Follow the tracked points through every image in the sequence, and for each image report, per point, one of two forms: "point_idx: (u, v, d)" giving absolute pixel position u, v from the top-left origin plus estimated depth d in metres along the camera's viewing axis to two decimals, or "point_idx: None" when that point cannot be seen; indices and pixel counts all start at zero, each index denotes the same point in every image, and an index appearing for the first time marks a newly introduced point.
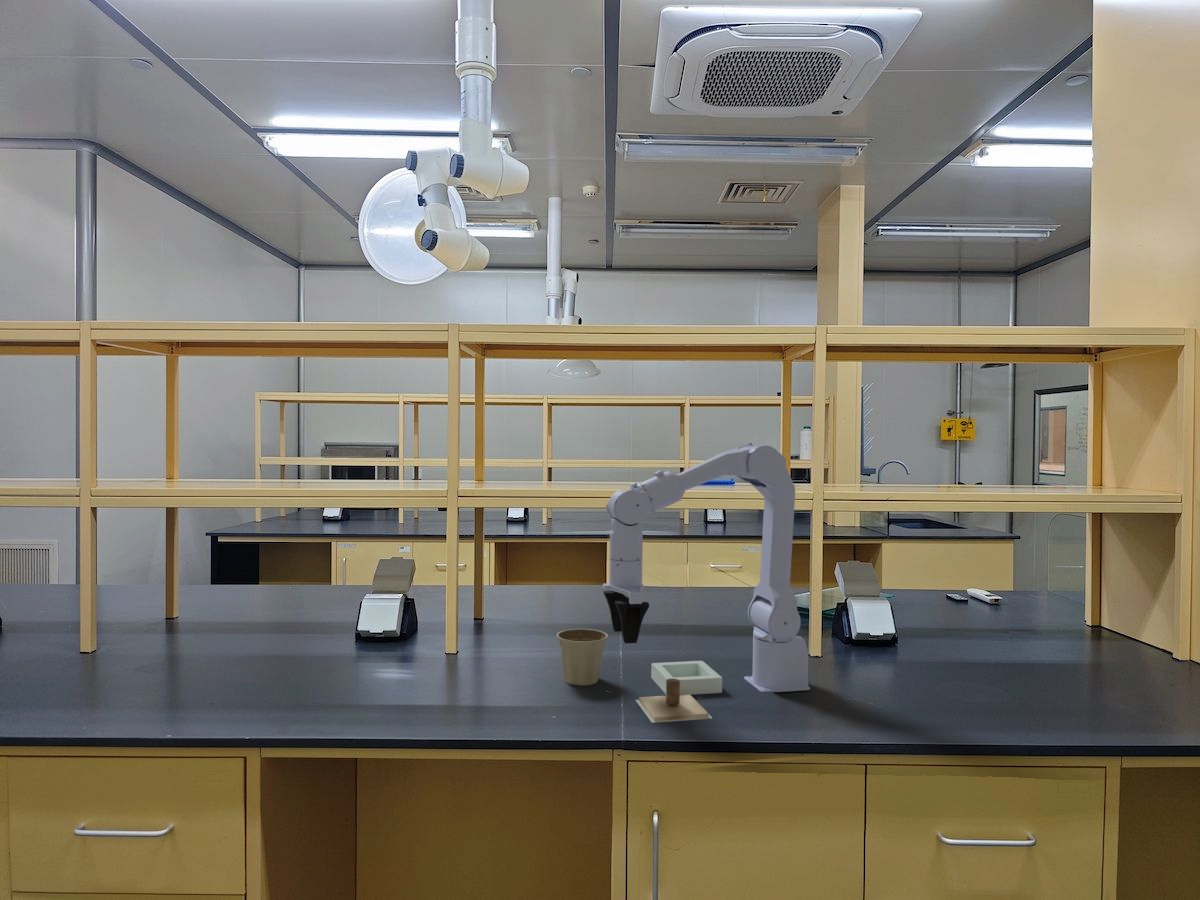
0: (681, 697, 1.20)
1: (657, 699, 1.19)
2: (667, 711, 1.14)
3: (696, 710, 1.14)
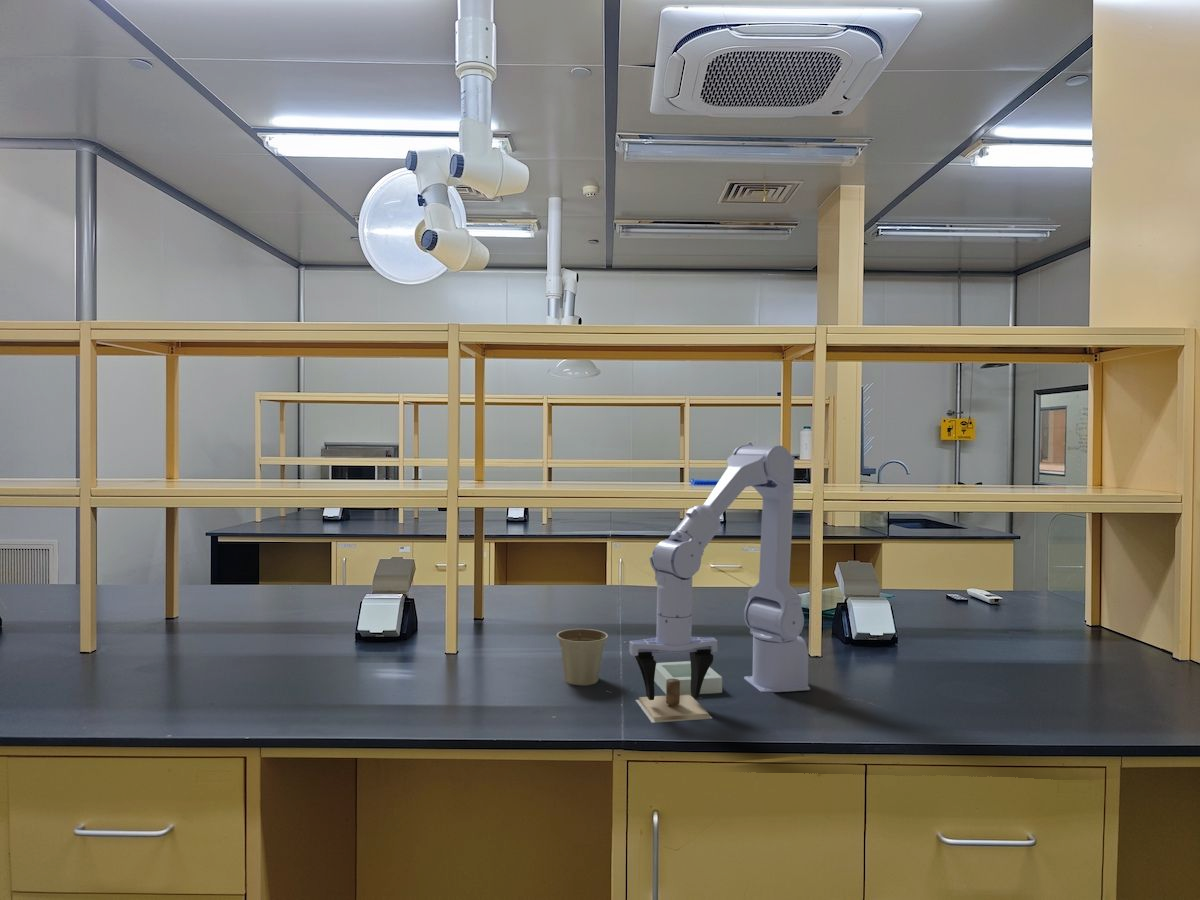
0: (681, 697, 1.20)
1: (657, 699, 1.19)
2: (667, 711, 1.14)
3: (696, 710, 1.14)
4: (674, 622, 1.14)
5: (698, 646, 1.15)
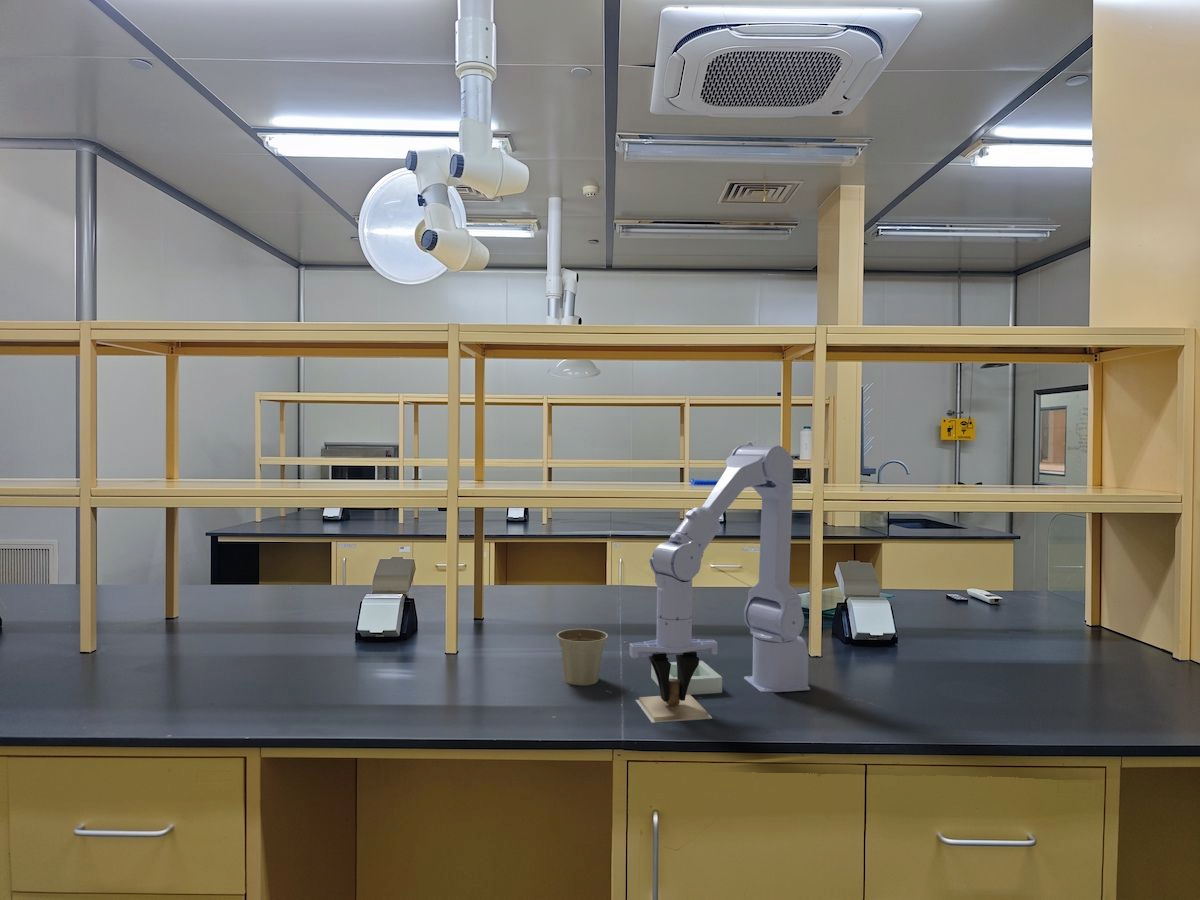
0: None
1: (657, 699, 1.19)
2: (667, 711, 1.14)
3: (696, 710, 1.14)
4: (674, 624, 1.14)
5: (698, 648, 1.15)
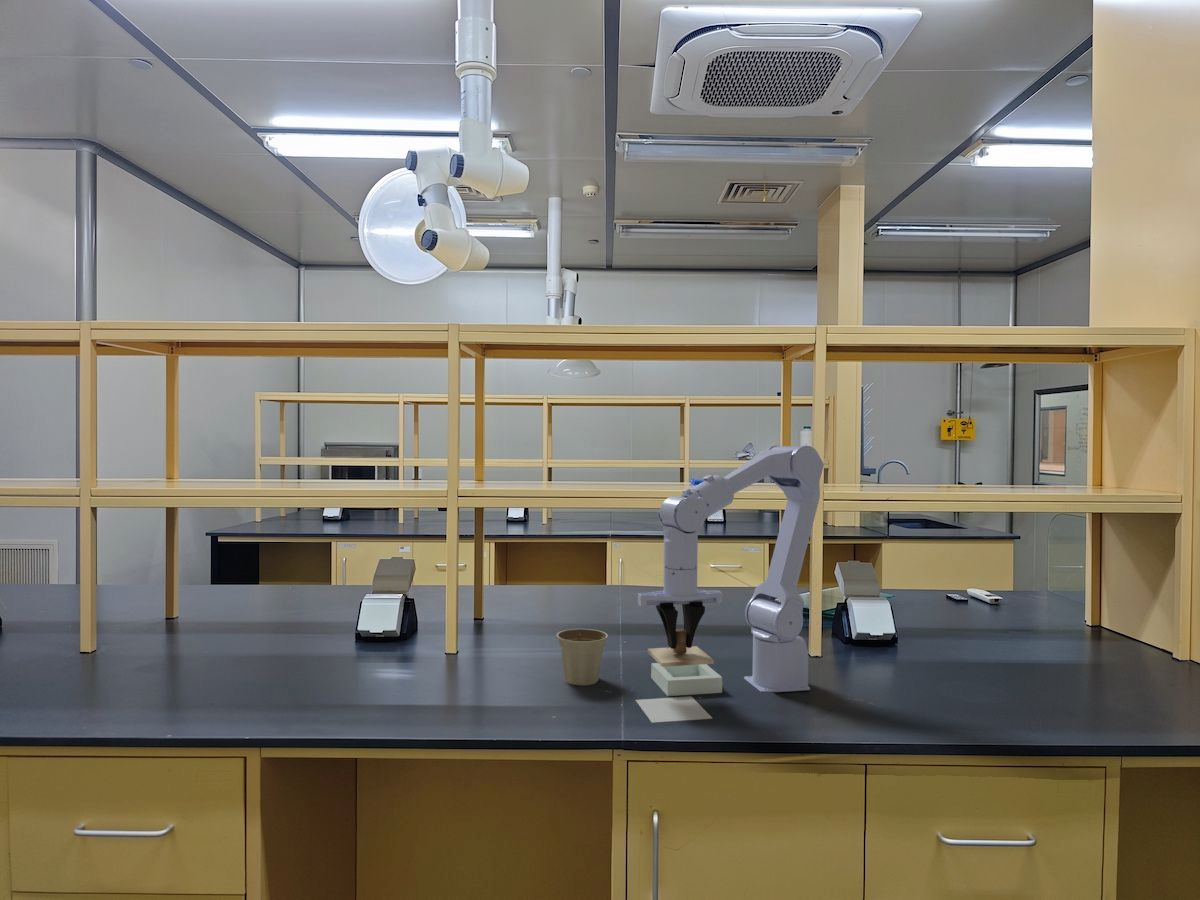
0: (688, 648, 1.25)
1: (664, 650, 1.24)
2: (674, 658, 1.18)
3: (702, 658, 1.19)
4: (681, 574, 1.18)
5: (704, 597, 1.20)
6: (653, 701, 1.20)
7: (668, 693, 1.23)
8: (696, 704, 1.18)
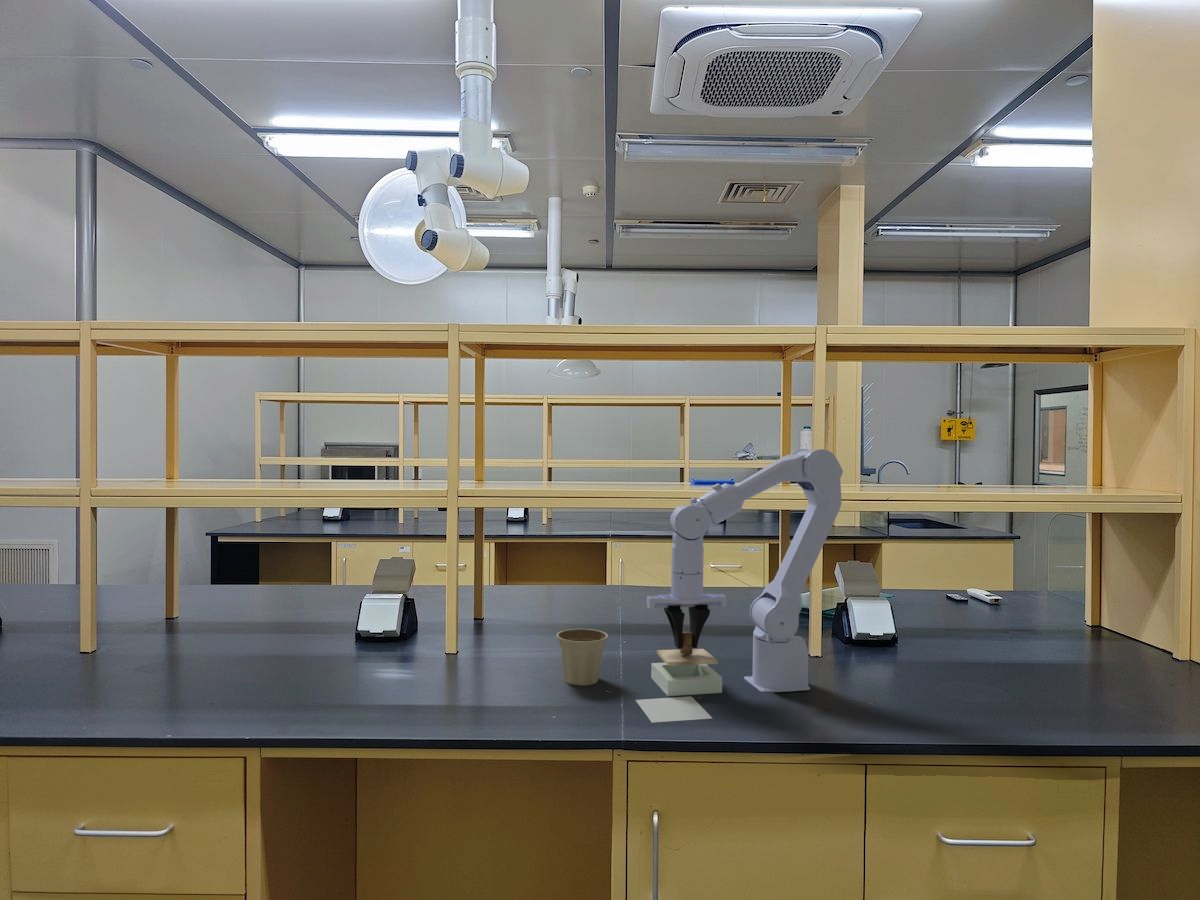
0: (695, 650, 1.32)
1: (672, 651, 1.31)
2: (680, 658, 1.25)
3: (707, 658, 1.26)
4: (687, 578, 1.25)
5: (709, 601, 1.27)
6: (653, 701, 1.20)
7: (668, 693, 1.23)
8: (696, 704, 1.18)
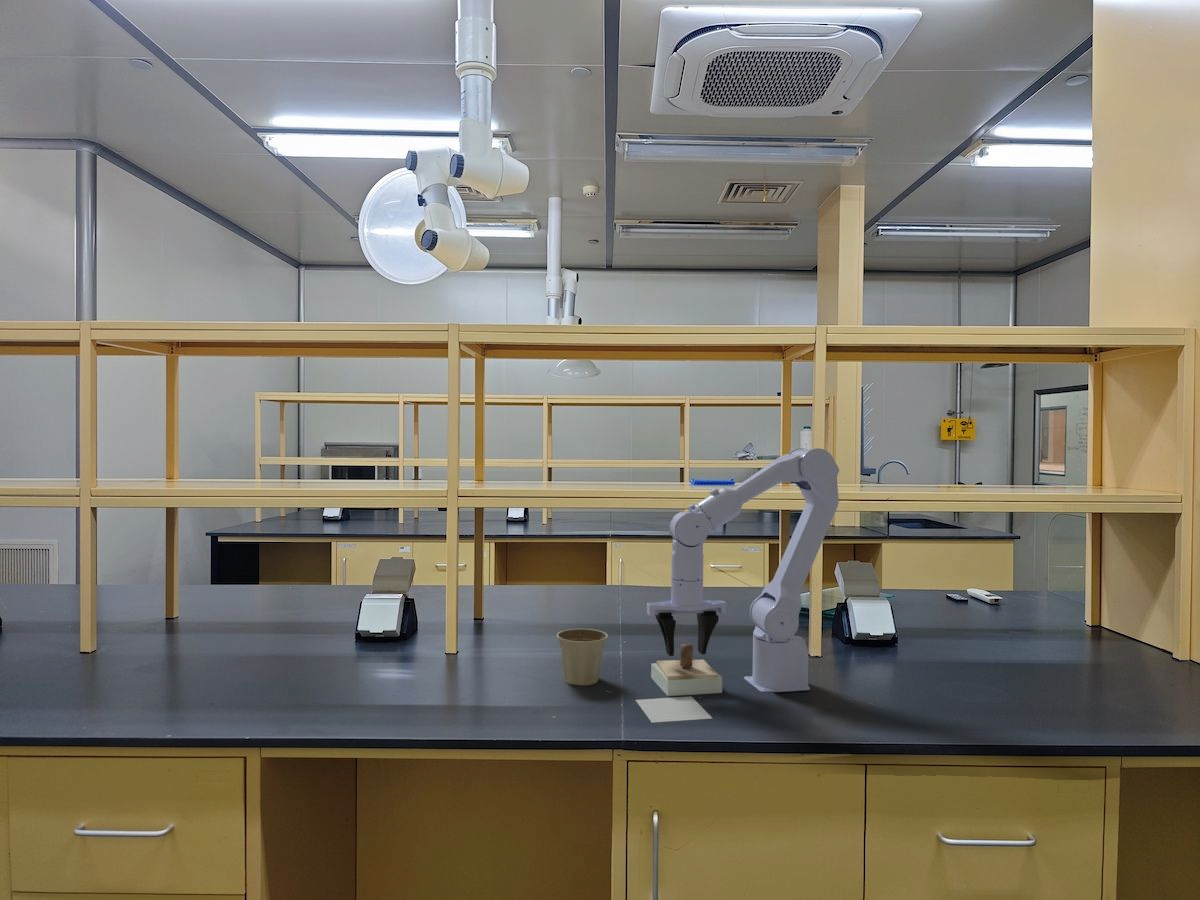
0: (695, 661, 1.32)
1: (672, 662, 1.31)
2: (680, 672, 1.25)
3: (707, 672, 1.26)
4: (687, 585, 1.26)
5: (709, 607, 1.27)
6: (653, 701, 1.20)
7: (668, 693, 1.23)
8: (696, 704, 1.18)
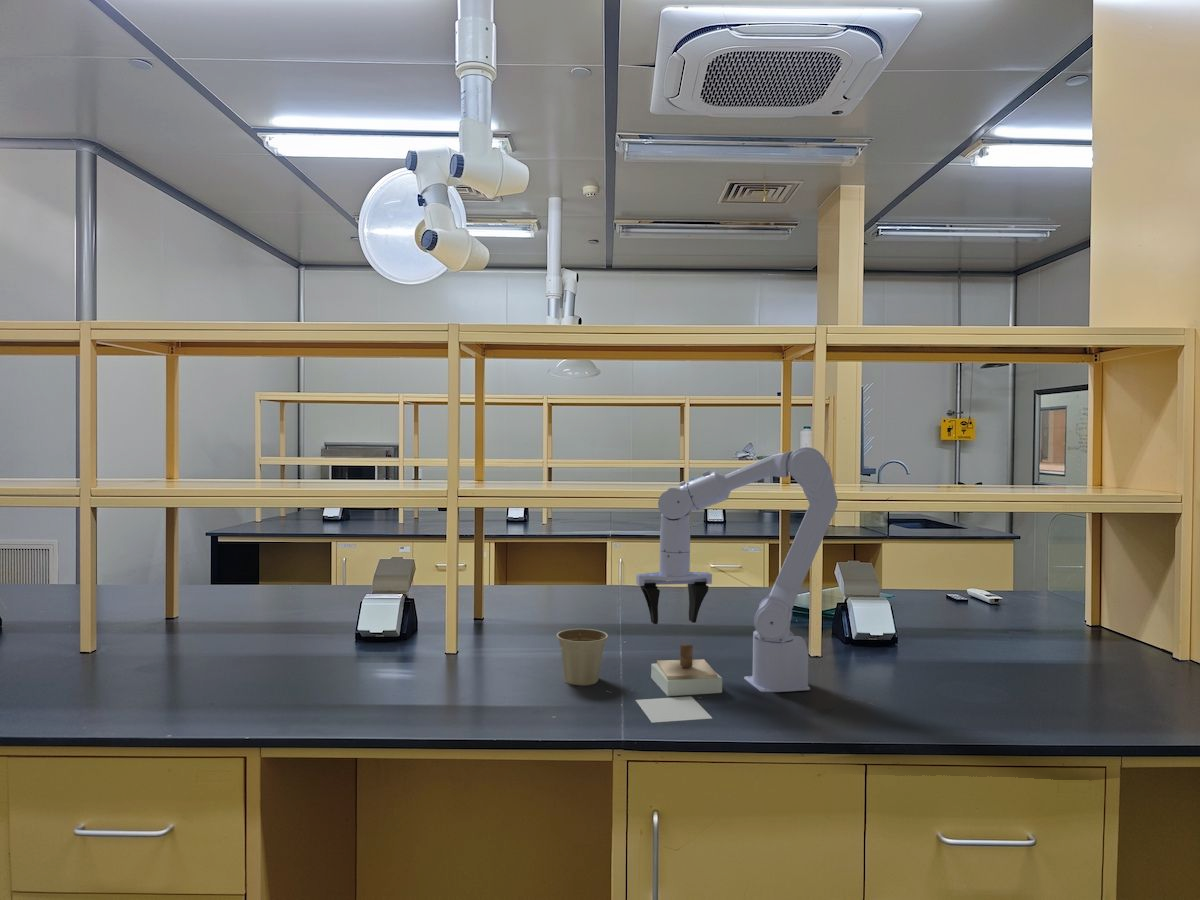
0: (695, 661, 1.32)
1: (673, 662, 1.31)
2: (680, 672, 1.26)
3: (707, 672, 1.26)
4: (675, 556, 1.32)
5: (695, 578, 1.34)
6: (653, 701, 1.20)
7: (668, 693, 1.22)
8: (696, 704, 1.18)
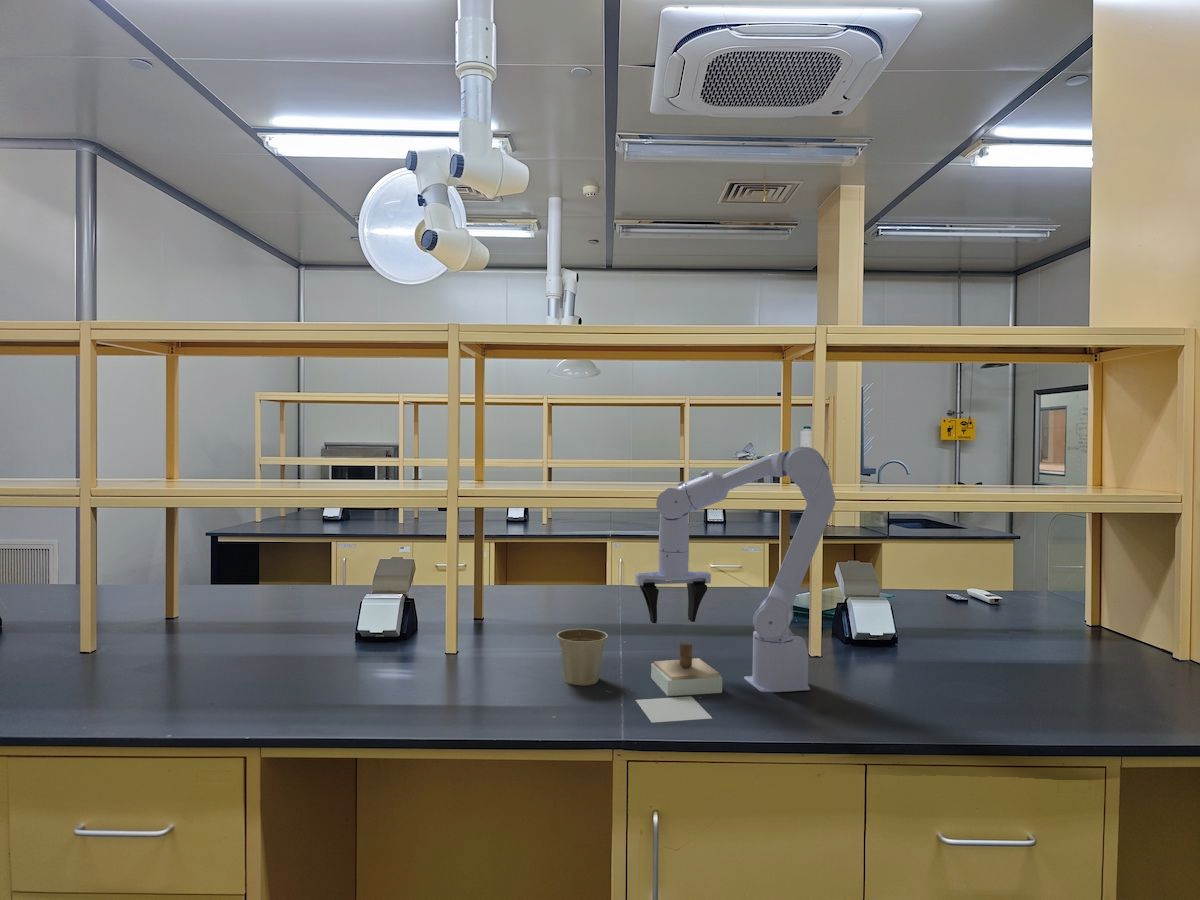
0: (691, 660, 1.32)
1: (670, 662, 1.31)
2: (682, 672, 1.25)
3: (707, 670, 1.26)
4: (674, 556, 1.33)
5: (694, 577, 1.35)
6: (653, 701, 1.20)
7: (668, 693, 1.22)
8: (696, 704, 1.18)
